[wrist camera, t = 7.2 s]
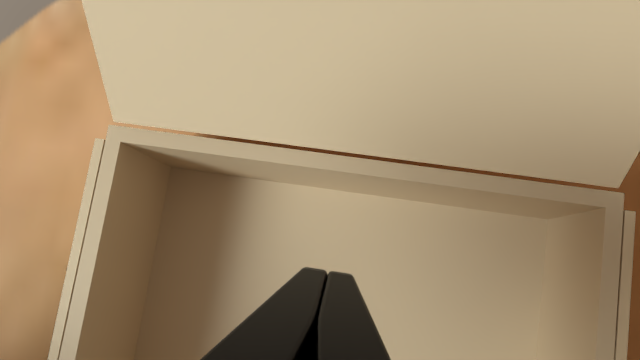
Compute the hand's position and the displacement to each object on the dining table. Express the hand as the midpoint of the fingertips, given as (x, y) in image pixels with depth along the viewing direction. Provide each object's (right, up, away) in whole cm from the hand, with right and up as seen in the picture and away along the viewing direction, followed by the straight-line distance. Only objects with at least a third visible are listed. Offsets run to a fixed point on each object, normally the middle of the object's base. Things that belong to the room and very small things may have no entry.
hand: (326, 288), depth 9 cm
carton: (0, -4, +11) cm, 12 cm away
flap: (+1, +3, +7) cm, 7 cm away
